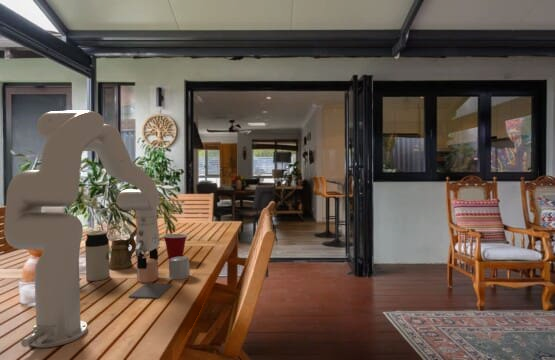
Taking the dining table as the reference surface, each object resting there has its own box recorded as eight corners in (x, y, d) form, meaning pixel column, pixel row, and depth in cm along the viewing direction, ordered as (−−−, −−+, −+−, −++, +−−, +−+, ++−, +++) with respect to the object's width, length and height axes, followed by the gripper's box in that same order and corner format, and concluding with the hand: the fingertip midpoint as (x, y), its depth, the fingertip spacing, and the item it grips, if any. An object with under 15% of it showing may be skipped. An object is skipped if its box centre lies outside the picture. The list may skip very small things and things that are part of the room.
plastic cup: (192, 257, 158) (191, 232, 158) (180, 264, 148) (179, 237, 147) (171, 256, 161) (171, 231, 161) (158, 262, 151) (158, 236, 150)
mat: (157, 298, 110) (157, 297, 110) (128, 297, 111) (128, 296, 111) (172, 285, 122) (172, 284, 122) (145, 284, 123) (145, 283, 123)
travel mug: (81, 281, 126) (80, 234, 126) (93, 274, 134) (92, 230, 134) (102, 281, 126) (101, 234, 125) (113, 274, 134) (112, 230, 133)
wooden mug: (137, 269, 141) (136, 227, 140) (104, 270, 140) (103, 227, 140) (145, 263, 150) (144, 223, 149) (114, 263, 149) (113, 223, 148)
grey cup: (185, 279, 128) (184, 261, 128) (167, 279, 129) (166, 261, 128) (191, 273, 135) (191, 256, 135) (174, 273, 136) (173, 256, 135)
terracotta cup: (152, 282, 125) (152, 264, 125) (134, 282, 125) (133, 263, 125) (160, 276, 132) (160, 258, 132) (143, 275, 132) (142, 258, 132)
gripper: (145, 224, 119) (147, 272, 120) (165, 216, 136) (166, 257, 137) (125, 224, 120) (127, 271, 121) (147, 216, 137) (149, 257, 138)
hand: (148, 264), depth 129 cm, fingers open, 9 cm apart
